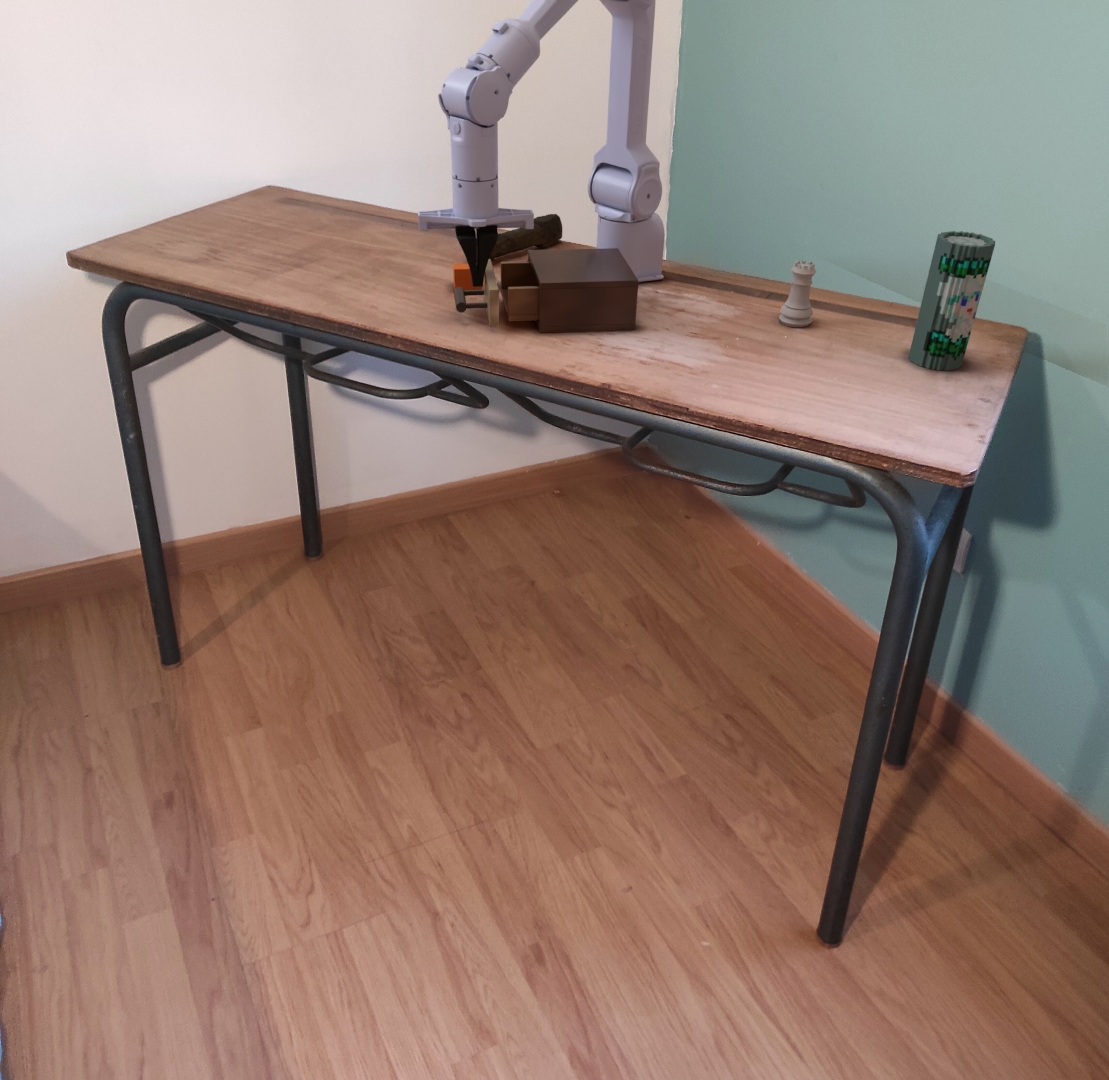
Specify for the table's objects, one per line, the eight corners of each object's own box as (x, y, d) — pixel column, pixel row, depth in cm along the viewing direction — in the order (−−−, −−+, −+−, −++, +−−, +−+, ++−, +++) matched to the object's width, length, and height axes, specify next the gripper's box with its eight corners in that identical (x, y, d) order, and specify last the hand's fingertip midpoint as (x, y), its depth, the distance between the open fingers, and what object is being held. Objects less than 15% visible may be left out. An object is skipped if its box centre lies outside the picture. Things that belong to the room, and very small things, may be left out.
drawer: (457, 327, 123) (456, 290, 120) (452, 293, 133) (451, 259, 130) (578, 323, 125) (579, 287, 122) (564, 290, 135) (565, 256, 132)
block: (454, 291, 136) (454, 269, 135) (453, 285, 138) (453, 263, 137) (498, 290, 137) (498, 268, 135) (496, 284, 139) (496, 262, 137)
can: (932, 373, 116) (965, 249, 108) (899, 354, 121) (927, 234, 112) (971, 365, 118) (1005, 243, 110) (936, 347, 123) (967, 229, 114)
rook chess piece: (792, 330, 127) (802, 270, 122) (771, 318, 130) (780, 260, 126) (818, 325, 128) (829, 265, 124) (797, 314, 132) (807, 256, 127)
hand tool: (485, 268, 145) (485, 237, 143) (468, 261, 147) (467, 231, 145) (573, 244, 156) (574, 215, 154) (556, 238, 159) (557, 210, 156)
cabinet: (539, 332, 124) (540, 282, 120) (527, 296, 135) (527, 249, 132) (635, 329, 126) (638, 280, 122) (615, 294, 137) (617, 247, 133)
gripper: (416, 184, 114) (422, 295, 122) (537, 183, 116) (536, 292, 124) (415, 170, 120) (421, 277, 128) (530, 169, 122) (529, 275, 130)
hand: (477, 284), depth 126 cm, fingers closed
